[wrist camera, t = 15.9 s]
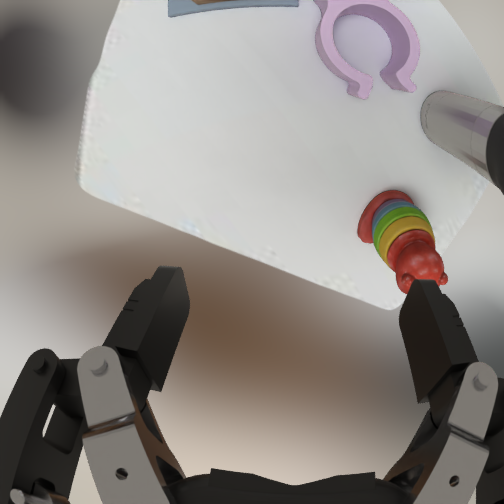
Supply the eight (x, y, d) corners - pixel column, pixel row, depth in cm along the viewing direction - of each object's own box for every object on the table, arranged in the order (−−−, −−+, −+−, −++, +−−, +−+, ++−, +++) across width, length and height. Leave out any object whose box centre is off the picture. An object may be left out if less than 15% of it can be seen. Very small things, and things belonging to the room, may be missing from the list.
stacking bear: (355, 239, 47) (376, 317, 32) (365, 184, 41) (401, 250, 26) (409, 243, 46) (445, 316, 31) (424, 192, 40) (475, 256, 25)
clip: (286, -21, 24) (285, -38, 18) (368, -32, 20) (381, -47, 15) (333, 99, 34) (341, 103, 29) (411, 86, 31) (431, 90, 25)
